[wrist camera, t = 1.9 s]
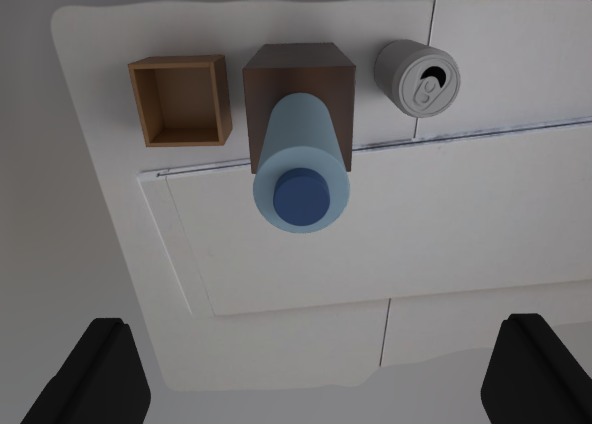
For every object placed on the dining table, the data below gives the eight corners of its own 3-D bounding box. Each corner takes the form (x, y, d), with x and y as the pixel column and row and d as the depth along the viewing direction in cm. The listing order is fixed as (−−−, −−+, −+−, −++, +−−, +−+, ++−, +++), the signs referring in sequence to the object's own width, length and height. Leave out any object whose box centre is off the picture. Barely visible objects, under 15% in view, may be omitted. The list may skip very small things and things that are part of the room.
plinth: (268, 112, 48) (251, 174, 30) (264, 44, 44) (242, 69, 27) (331, 111, 48) (351, 171, 30) (332, 42, 44) (355, 65, 26)
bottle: (262, 142, 29) (239, 229, 18) (280, 83, 27) (267, 139, 16) (318, 160, 30) (330, 255, 18) (339, 104, 28) (369, 172, 16)
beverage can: (436, 51, 44) (479, 65, 34) (409, 103, 47) (441, 130, 37) (387, 30, 43) (416, 37, 33) (363, 84, 46) (383, 107, 36)
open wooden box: (163, 131, 49) (146, 147, 43) (149, 57, 45) (127, 64, 39) (232, 129, 49) (223, 145, 43) (224, 54, 45) (213, 61, 39)
